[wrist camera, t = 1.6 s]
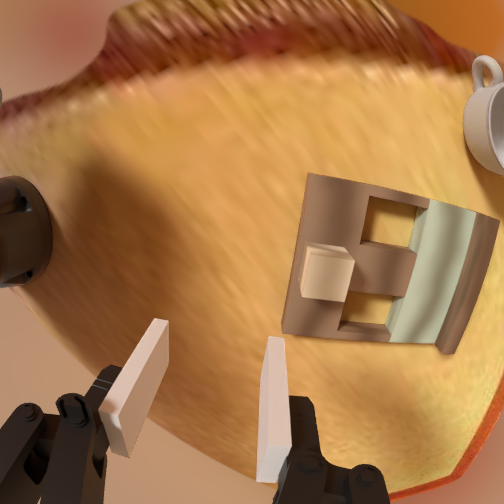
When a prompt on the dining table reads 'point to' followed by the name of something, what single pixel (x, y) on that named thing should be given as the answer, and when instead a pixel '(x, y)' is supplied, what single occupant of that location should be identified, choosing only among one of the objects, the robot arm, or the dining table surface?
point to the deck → (393, 266)
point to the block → (325, 272)
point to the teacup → (486, 117)
